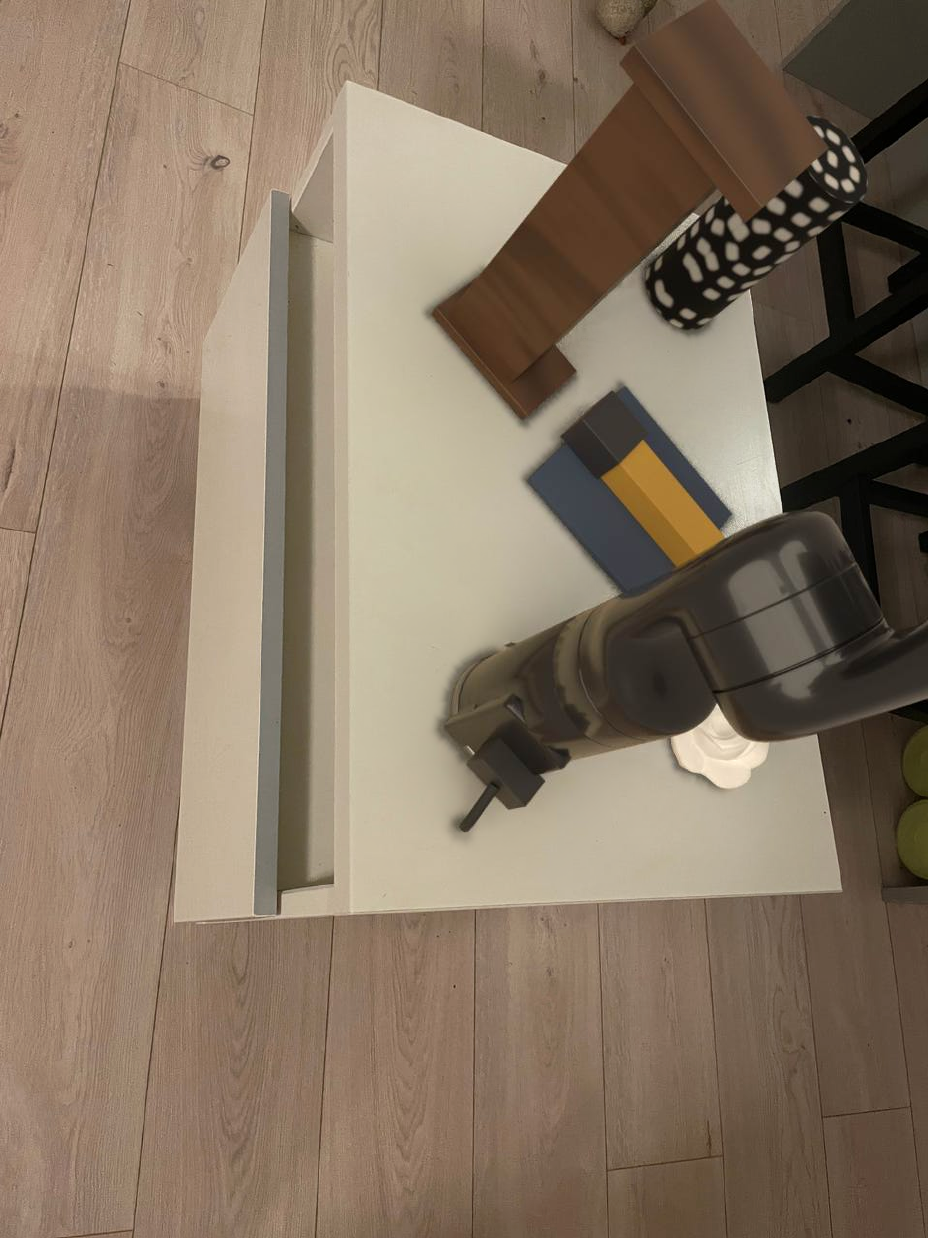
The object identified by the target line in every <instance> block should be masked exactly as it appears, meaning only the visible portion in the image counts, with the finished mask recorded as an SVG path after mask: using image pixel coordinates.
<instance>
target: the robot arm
mask: <svg viewBox="0 0 928 1238" xmlns="http://www.w3.org/2000/svg"><path fill="white" fill-rule="evenodd" d="M923 572H924V574H925V575H926V577H927V578H928V558H927V559H926V560H925V562H924V565H923ZM503 647H506V648H505V649H503V650H501V651H499V652H497V653H495V654H492V655H489V656H486V657H484V658H482V659H480V660H477V661H476V662H474V663H473V664H471V665H470V666H469V667H467V669H466V670H464V672H463V673H462V674H461V676H460V677H459V679H458V681H457V682H456V685H455V687H454V690H453V693H452V698H451V704H450V714H451V715H450V716H449V718H448V719H447V721H446V722H445V723H444V725H443V728H444V730H445V731H446V733H448V735H450V736H451V738H452V739H453V740H454V742H456V743H457V745H458V746H460V747H461V749H462V750H463V751H464V753H465V755H467V756H468V758H469V760H467V762H466V763H465V765H466V766H467V767H468V769H470V770H471V772H473V773H474V775H476V777H477V778H478V779H479V780H480V781H481V782H482V784H483V785H484V786H485V787H486V788H485V789H484V790H483V792H482V793H481V795H480V796H479V797H478V799H477V801H475V803H474V805H473V806H472V808H471V809H470V810H469V811H468V813H467V815H466V816H465V817H464V819H463V820H462V821H461V822H460V824H459V829H460V831H461V832H463V833H468V832H470V830H471V829H472V828H473V827H475V825H476V823H477V822H478V820H479V819H480V817H481V816H482V815H483V814H484V812H485V811H486V810H487V808H488V807H489V806H490V804H491V802H492V801H493V800H494V798H496V799H498V801H499V802H500V803H501V804H502V805H503V806H504V807H505V809H506V810H508V811H510V810H516V809H521V808H526V807H527V806H528V804H529V803H530V802H531V800H532V799H533V798H534V797H535V795H536V794H537V793H538V792H539V791H540V790H541V788H542V787H543V785H544V784H545V783H546V780H545V779H544V777H542V775H544V774H548V773H553V772H558V771H562V770H563V769H565V768H566V767H567V766H568V764H569V763H570V762H573V761H577V760H582V759H585V758H589V757H593V756H597V755H601V754H605V753H609V752H614V751H618V750H622V749H626V748H630V747H635V746H639V745H644V744H648V743H651V742H656V741H660V740H661V741H662V740H664V739H665V740H666V739H669V738H671V737H673V736H678V735H680V734H683V733H686V732H688V731H690V730H692V729H694V728H696V727H697V726H698V725H700V724H701V723H702V722H703V721H705V720H706V719H707V718H708V716H709V715H710V714H711V713H712V711H713V709H714V708H715V706H716V704H718V706H719V708H720V710H721V712H722V713H723V715H724V717H725V719H726V720H727V722H728V723H729V725H730V726H731V727H732V728H733V730H734V731H735V732H736V733H737V734H738V735H739V736H741V737H742V738H744V739H747V740H749V741H753V742H763V743H769V744H770V743H782V742H787V741H793V740H798V739H803V738H807V737H811V736H815V735H818V734H822V733H825V732H828V731H832V730H834V729H835V730H836V729H838V728H842V727H845V726H848V725H851V724H854V723H857V722H860V721H864V720H866V719H870V718H872V717H875V716H878V715H882V714H885V713H889V712H891V711H893V710H894V711H895V710H897V709H899V708H902V707H906V706H909V705H912V704H915V703H918V702H921V701H924V700H927V699H928V617H927V618H925V619H924V620H922V621H921V622H919V623H917V624H914V625H912V626H909V627H906V628H904V629H894V628H891V626H889V624H888V622H887V620H886V619H885V616H884V614H883V611H882V609H881V608H880V606H879V603H878V602H877V599H876V598H875V596H874V594H873V592H872V590H871V587H870V586H869V584H868V582H867V580H866V577H865V576H864V574H863V571H862V570H861V568H860V566H859V563H858V562H857V561H856V559H855V556H854V554H853V552H852V550H851V548H850V546H849V544H848V542H847V541H846V539H845V537H844V534H843V533H842V531H841V529H840V527H839V525H838V524H837V523H836V521H835V520H834V518H832V517H831V516H830V515H829V514H827V513H825V512H823V511H821V510H815V509H797V510H791V511H786V512H781V513H777V514H775V515H772V516H769V517H767V518H765V519H762V520H759V521H757V522H755V523H752V524H751V525H748V526H746V527H744V528H742V529H740V530H738V531H736V532H734V533H732V534H730V535H729V536H727V537H725V539H723V540H721V541H719V542H718V543H716V544H714V545H712V546H711V547H709V548H707V549H706V550H704V551H702V552H701V553H699V554H697V555H696V556H694V557H692V558H691V559H689V560H687V561H686V562H684V563H682V564H680V565H679V566H677V567H675V568H673V569H672V570H670V571H668V572H666V573H664V574H663V575H661V576H659V577H657V578H655V579H653V580H651V581H649V582H647V583H645V584H642V585H640V586H638V587H636V588H633V589H631V590H629V591H627V592H624V593H623V592H622V593H620V594H618V595H615V596H613V597H611V598H609V599H607V600H605V601H603V602H601V603H599V604H597V605H595V606H592V607H591V608H588V609H586V610H584V611H582V612H580V613H578V614H576V615H574V616H572V617H569V618H568V619H566V620H563V621H561V622H558V623H557V624H555V625H553V626H551V627H548V628H546V629H544V630H542V631H540V632H538V633H536V634H534V635H531V636H530V637H528V638H526V639H524V640H521V641H520V642H518V643H516V642H512V641H510V642H508V643H506V644H503Z"/></svg>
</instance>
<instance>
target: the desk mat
mask: <svg viewBox="0 0 928 1238" xmlns="http://www.w3.org/2000/svg"><path fill="white" fill-rule="evenodd" d="M615 394H616V395H617V396H618V397H619V399H620V400H621V401H622V402H623V403H624V405H625V406H626V407H627V408H628V409H629V411H630V412H631V413H632V414H633V415H634V417H635V418H636V419H637V420H638V421H639V423H640V424H641V425H642V426H643V427H644V429H645V430H646V431H647V432H648V435H647V436H646V437H645V438H644V439H643V440H644V441H645V443H646V444H647V445H648V446H649V447H650V449H651V450H652V451H653V452H654V453H655V455H656V456H657V457H658V458H659V459H660V461H661V462H662V463H663V464H664V465H665V466H666V468H667V469H668V470H669V471H670V472H671V474H672V475H673V476H674V477H675V478H676V480H677V481H678V482H679V483H680V484H681V486H682V487H683V488H684V489H685V490H686V492H687V493H688V494H689V495H690V496H691V498H692V499H693V500H694V501H695V502H696V503H697V505H698V506H699V507H700V508H701V509H702V511H703V512H704V513H705V514H706V515H707V517H708V518H709V519H710V520H711V521H712V523H713V524H714V525H715V526H716V527H717V529H718V530H719V531H720V530H721V529H722V528H723V526H724V525H725V524H726V523H727V521H728V520H729V518H731V516H732V515H733V513H732V511H730V509H729V508H728V507H727V506H726V505H725V503H724V502H723V501H722V500H721V499H720V497H719V496H718V495H717V494H716V492H715V491H714V490H713V489H712V488H711V487H710V485H709V484H708V482H706V481H705V480H704V478H703V477H702V476H701V475H700V473H699V472H698V471H697V470H696V468H695V467H694V466H693V465H692V464H691V463H690V462H689V460H688V459H687V458H686V457H685V455H684V454H683V453H682V452H681V451H680V449H679V448H678V447H677V446H676V444H674V442H673V441H672V439H670V437H669V436H668V435H667V434H666V433H665V431H664V430H663V429H662V428H661V426H659V424H658V423H657V422H656V421H655V420H654V418H653V417H652V415H650V413H649V412H648V411H647V410H646V408H645V407H644V406H643V405H642V404H641V403H640V401H639V400H638V399H637V398H636V396H635V395H634V394H633V393H632V392H631V390H630V389H629V388H628V387H627V386H626V385H625V386H623V387H622V388H621V389H619V391H617V392H616V393H615ZM526 481H527V483H528V484H529V485H530V486H531V488H532V489H533V490H534V491H535V492H536V493H537V495H538V496H539V497H540V498H541V499H542V500H543V501H544V502H545V504H546V505H547V506H548V507H549V508H550V510H552V511H553V513H554V514H555V515H556V516H557V518H559V520H560V521H561V522H562V523H563V524H564V525H565V527H566V528H567V529H568V530H569V531H570V532H571V534H572V535H573V536H574V537H575V539H576V540H577V541H578V542H579V543H580V544H581V545H582V547H584V549H585V550H586V551H587V553H589V554H590V555H591V557H592V559H594V560H595V562H597V564H598V565H599V566H600V567H601V568H602V570H603V571H604V572H605V573H606V575H608V577H610V579H611V580H612V582H614V583H615V584H616V586H617V587H618V589H620V591H621V592H622V593H624V592H627V591H629V590H631V589H633V588H636V587H638V586H640V585H642V584H645V583H647V582H649V581H651V580H653V579H655V578H657V577H659V576H661V575H663V574H664V573H666V572H668V571H670V570H672V569H673V568H675V567H676V565H675V564H674V563H673V562H672V561H671V560H670V558H669V557H668V556H667V555H666V554H665V553H664V551H663V550H662V549H661V548H660V547H659V545H658V544H657V543H656V542H655V541H654V540H653V538H652V537H651V536H650V535H649V534H648V533H647V531H646V530H645V529H644V528H643V527H642V525H641V524H640V523H639V522H638V521H637V520H636V518H635V517H634V516H633V515H632V514H631V513H630V511H629V510H628V509H627V508H626V507H625V505H624V504H623V503H622V502H621V501H620V500H619V498H618V497H617V496H616V495H615V494H614V493H613V491H612V490H611V489H610V488H609V487H608V485H607V484H606V483H605V482H604V481H603V480H602V478H601V477H599V478H598V479H596V478H595V477H594V475H593V474H592V473H591V472H590V471H589V470H588V468H587V467H586V466H585V465H584V464H583V463H582V461H581V460H580V459H579V458H578V457H577V456H576V454H575V453H574V452H573V451H572V450H571V448H570V447H569V446H568V445H567V444H566V443H565V442H564V444H562V445H561V446H560V447H559V449H557V450H556V451H555V452H554V453H553V454H552V455H551V456H550V457H549V458H548V459H547V460H546V461H545V462H544V463H543V464H542V465H541V466H539V468H537V470H536V471H535V472H533V473H532V474H531V475H530V476H529V477H528V478H527V479H526Z"/></svg>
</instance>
